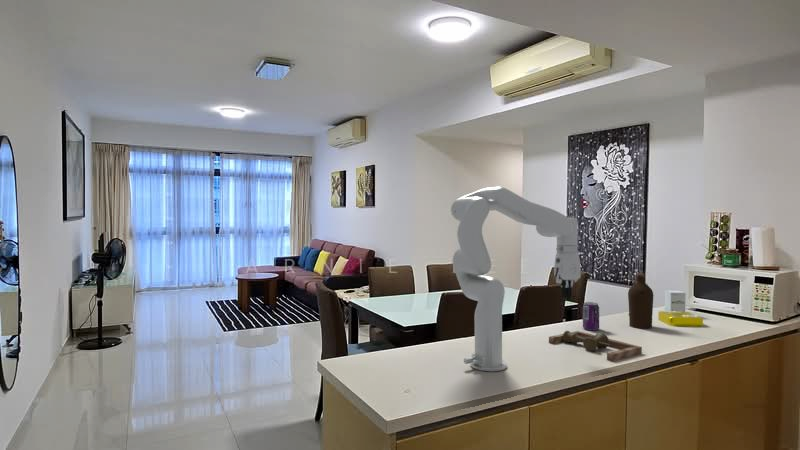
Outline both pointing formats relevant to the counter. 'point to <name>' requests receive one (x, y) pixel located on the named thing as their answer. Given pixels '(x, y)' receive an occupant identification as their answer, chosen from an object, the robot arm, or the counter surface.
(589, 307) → the beverage can
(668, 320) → the element tile
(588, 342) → the kendama
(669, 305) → the supplement box
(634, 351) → the walnut bay
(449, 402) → the counter surface
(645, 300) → the olive oil
